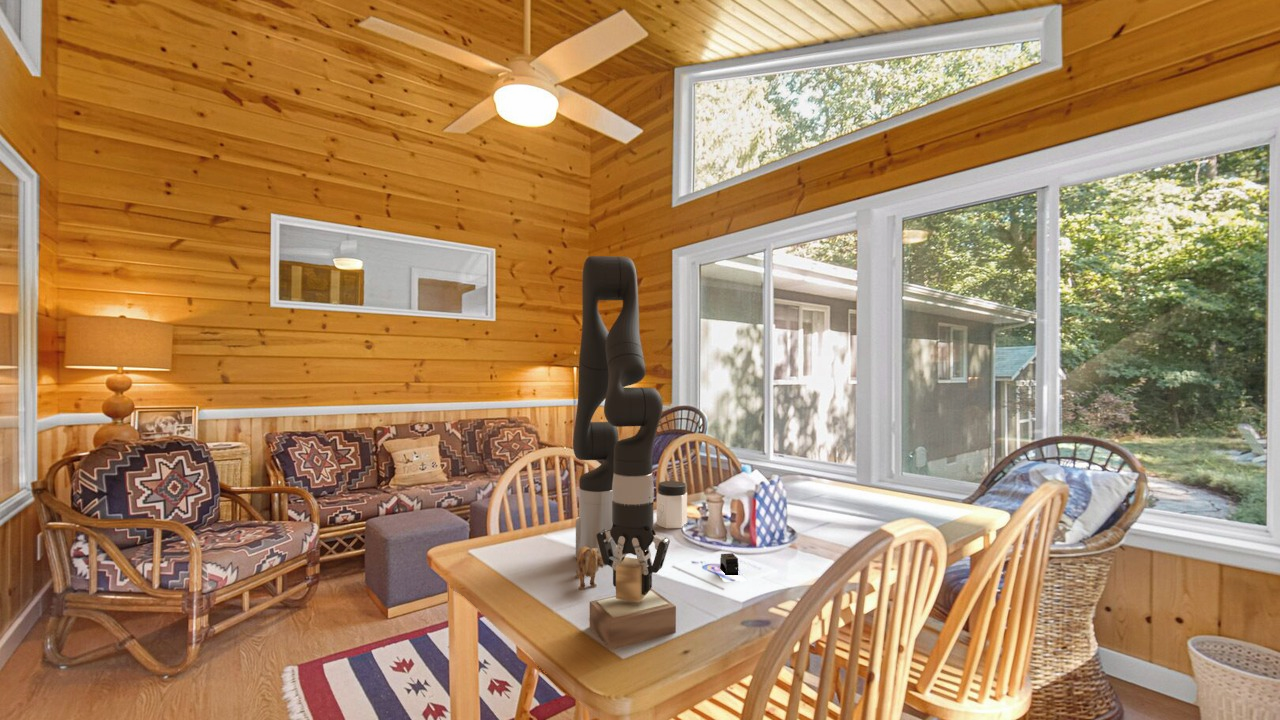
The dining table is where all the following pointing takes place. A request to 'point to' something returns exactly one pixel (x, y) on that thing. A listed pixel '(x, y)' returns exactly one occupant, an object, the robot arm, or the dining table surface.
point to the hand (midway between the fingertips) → (632, 590)
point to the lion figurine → (588, 565)
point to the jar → (671, 504)
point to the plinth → (632, 619)
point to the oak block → (629, 580)
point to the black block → (729, 564)
